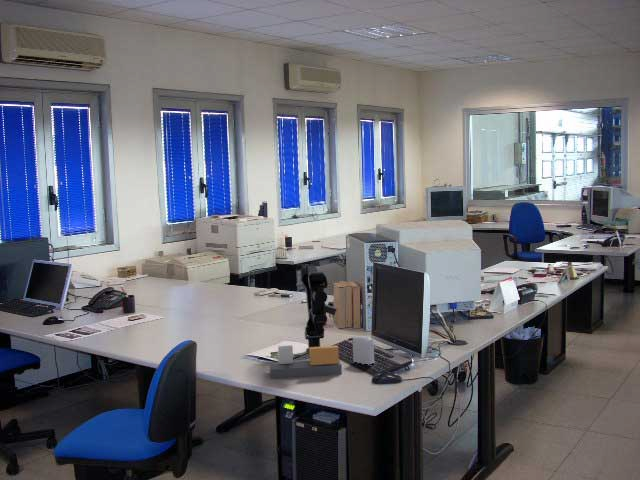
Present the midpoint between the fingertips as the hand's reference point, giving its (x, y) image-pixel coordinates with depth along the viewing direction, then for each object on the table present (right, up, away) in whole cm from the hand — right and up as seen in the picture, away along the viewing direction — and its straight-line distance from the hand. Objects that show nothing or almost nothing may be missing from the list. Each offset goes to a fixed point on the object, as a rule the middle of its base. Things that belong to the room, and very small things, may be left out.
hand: (318, 333), depth 314 cm
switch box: (-6, -14, -20) cm, 25 cm away
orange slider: (+2, -10, -22) cm, 24 cm away
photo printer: (+20, -13, -8) cm, 25 cm away
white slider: (-14, -10, -19) cm, 26 cm away
